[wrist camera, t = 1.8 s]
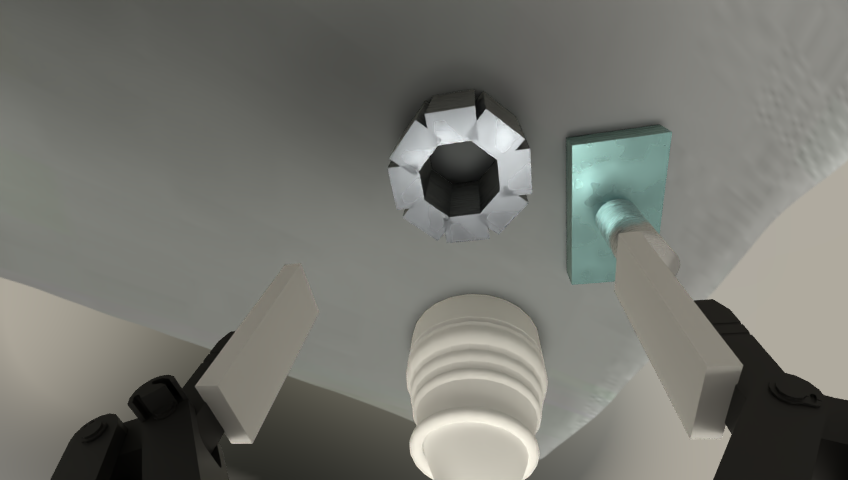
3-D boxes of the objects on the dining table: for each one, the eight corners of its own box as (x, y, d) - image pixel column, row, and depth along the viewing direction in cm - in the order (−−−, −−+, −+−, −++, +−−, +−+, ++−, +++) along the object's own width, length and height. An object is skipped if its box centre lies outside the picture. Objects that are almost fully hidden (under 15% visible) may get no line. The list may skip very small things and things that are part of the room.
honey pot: (407, 377, 44) (373, 575, 29) (419, 284, 38) (382, 476, 22) (523, 395, 44) (551, 606, 28) (554, 304, 37) (614, 515, 22)
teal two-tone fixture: (566, 137, 29) (600, 183, 22) (659, 124, 28) (730, 167, 21) (566, 271, 35) (593, 344, 27) (644, 264, 34) (695, 339, 26)
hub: (393, 102, 29) (376, 121, 24) (517, 81, 28) (527, 97, 23) (415, 211, 34) (405, 247, 29) (524, 198, 32) (534, 234, 27)
